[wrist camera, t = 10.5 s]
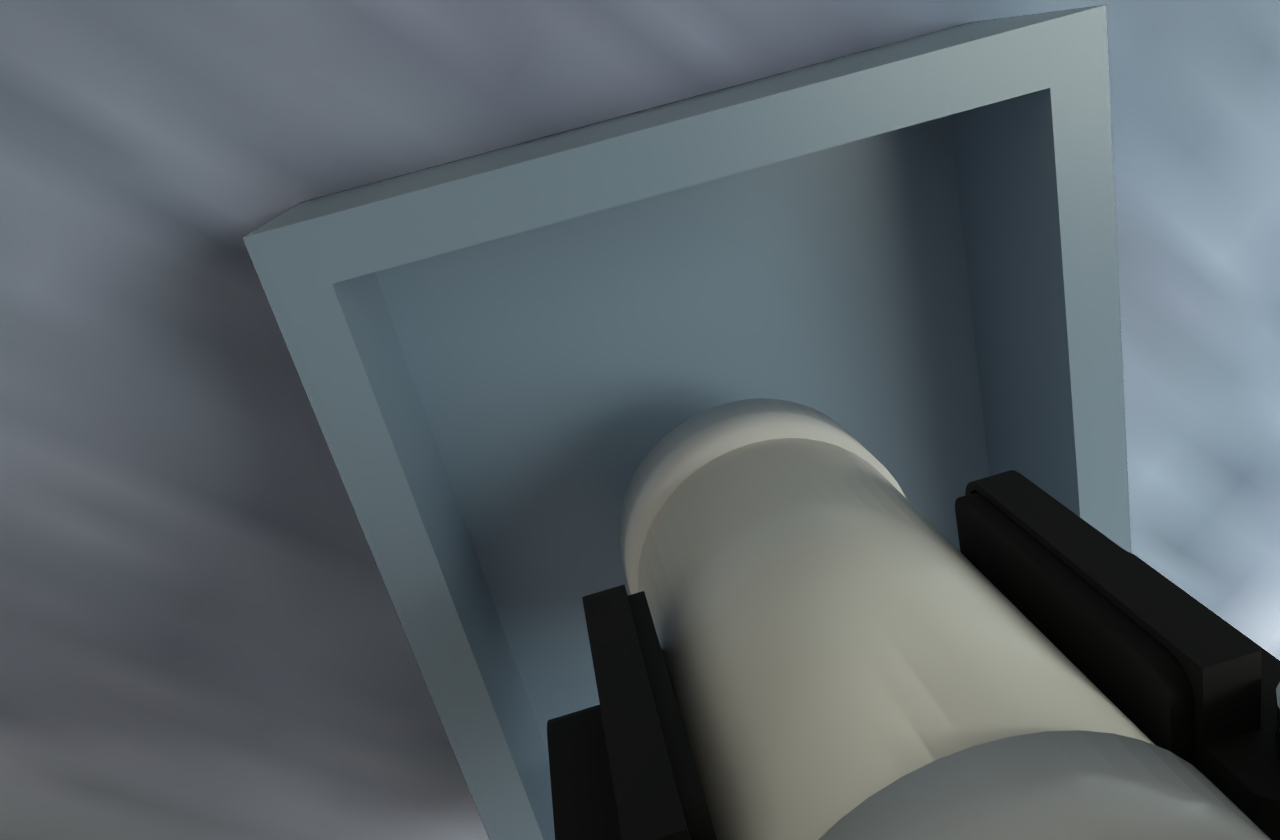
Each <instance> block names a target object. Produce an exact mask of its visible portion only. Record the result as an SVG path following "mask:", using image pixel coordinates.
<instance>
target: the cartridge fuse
mask: <svg viewBox="0 0 1280 840" xmlns="http://www.w3.org/2000/svg"><path fill="white" fill-rule="evenodd" d="M618 542H619V551H620V556H621V560H622V565H623V568H624V572H625V576H626V580H627V583H628V587H629V591H630V594H635V593H638V592H641V591H644V592H645V595H646V599H647V602H648V606H649V609H650V612H651V616H652V619H653V623H654V626H655V629H656V633H657V636H658V640H659V643H660V646H661V650H662V653H663V657H664V660H665V664H666V667H667V670H668V674H669V677H670V681H671V684H672V687H673V691H674V694H675V698H676V701H677V704H678V708H679V711H680V715H681V718H682V721H683V725H684V728H685V732H686V735H687V739H688V742H689V745H690V749H691V752H692V756H693V759H694V762H695V766H696V769H697V773H698V776H699V779H700V783H701V786H702V790H703V793H704V796H705V800H706V803H707V807H708V810H709V814H710V817H711V821H712V824H713V828H714V831H715V834H716V838H717V840H1271V839H1270V838H1269V837H1268V836H1267V835H1266V834H1265V833H1264V832H1263V831H1262V830H1261V829H1260V828H1259V827H1258V826H1257V825H1256V824H1254V823H1253V822H1252V821H1251V820H1250V819H1249V818H1248V817H1247V816H1246V815H1245V814H1244V813H1243V812H1242V811H1241V810H1240V809H1239V808H1238V807H1237V806H1236V805H1235V804H1234V803H1233V802H1232V801H1231V800H1230V799H1229V798H1228V797H1226V796H1225V795H1224V794H1223V793H1222V792H1221V791H1220V790H1219V789H1218V788H1217V787H1216V786H1215V785H1214V784H1213V783H1212V782H1211V781H1210V780H1209V779H1208V778H1206V777H1205V776H1204V775H1203V774H1202V773H1201V772H1200V771H1198V770H1197V769H1196V768H1195V767H1194V766H1193V765H1192V764H1190V763H1188V762H1187V761H1185V760H1183V759H1182V758H1180V757H1178V756H1177V755H1175V754H1173V753H1172V752H1170V751H1168V750H1166V749H1163V748H1161V747H1158V746H1156V745H1155V744H1154V743H1153V742H1152V741H1151V740H1150V739H1149V738H1148V737H1147V736H1146V735H1145V734H1144V733H1143V732H1142V731H1141V730H1140V729H1139V728H1138V727H1137V726H1136V725H1135V724H1134V723H1133V722H1132V721H1131V720H1129V719H1128V718H1127V717H1126V716H1125V715H1124V714H1123V713H1122V712H1121V711H1120V710H1119V709H1118V708H1117V707H1116V706H1115V705H1114V704H1113V703H1112V702H1111V701H1110V700H1109V699H1108V698H1107V697H1106V696H1105V695H1104V694H1103V693H1102V692H1101V691H1100V690H1099V689H1098V688H1097V687H1096V686H1095V685H1094V684H1093V683H1092V682H1091V681H1090V680H1089V679H1088V678H1087V677H1086V676H1085V675H1084V674H1083V673H1082V672H1081V671H1080V670H1079V669H1078V668H1077V667H1076V666H1075V665H1074V664H1073V663H1072V662H1071V661H1070V660H1069V659H1068V658H1067V657H1066V656H1065V655H1064V654H1063V653H1062V652H1061V651H1060V650H1059V649H1058V648H1057V647H1056V646H1055V645H1054V644H1053V643H1052V642H1051V641H1050V640H1049V639H1048V638H1047V637H1046V636H1045V635H1044V634H1043V633H1042V632H1041V631H1040V630H1039V629H1038V628H1037V627H1036V626H1035V625H1034V624H1033V623H1031V622H1030V621H1029V620H1028V619H1027V618H1026V617H1025V616H1024V615H1023V614H1022V613H1021V612H1020V611H1019V610H1018V609H1017V608H1016V607H1015V606H1014V605H1013V604H1012V603H1011V602H1010V601H1009V600H1008V599H1007V598H1006V597H1005V596H1004V595H1003V594H1002V593H1001V592H1000V591H999V590H998V589H997V588H996V587H995V586H994V585H993V584H992V583H991V582H990V581H989V580H988V579H987V578H986V577H985V576H984V575H983V574H982V573H981V572H980V571H979V570H978V569H977V568H976V567H975V566H974V565H973V564H972V563H971V562H970V561H969V560H968V559H967V558H966V557H965V556H964V555H963V554H962V553H961V552H960V551H959V550H958V549H957V548H956V547H955V546H954V545H953V544H952V543H951V542H950V541H949V540H948V539H947V538H946V537H945V536H944V535H943V534H942V533H941V532H940V531H939V530H938V529H937V528H936V527H935V526H934V525H932V524H931V523H930V522H929V521H928V520H927V519H926V518H925V517H924V516H923V515H922V514H921V513H920V512H919V511H918V510H917V509H916V508H915V507H914V506H913V505H912V504H911V503H910V502H909V501H908V500H907V499H906V497H905V495H904V493H903V491H902V490H901V488H900V486H899V484H898V483H897V481H896V480H895V479H894V477H893V476H892V475H891V474H890V473H889V471H888V470H887V469H886V468H885V467H884V466H883V465H882V464H881V463H880V462H879V461H878V460H877V459H876V458H875V457H874V456H873V455H872V454H871V453H870V452H869V451H868V450H866V449H865V448H864V447H863V446H862V445H861V444H860V443H859V442H858V441H857V440H856V439H855V438H854V437H853V436H852V435H851V434H850V433H849V432H848V431H847V430H845V429H844V428H843V427H842V426H841V425H840V424H839V423H838V422H836V421H835V420H833V419H832V418H830V417H829V416H827V415H826V414H824V413H822V412H820V411H817V410H815V409H813V408H811V407H809V406H805V405H802V404H799V403H796V402H792V401H786V400H780V399H763V398H757V399H747V400H739V401H734V402H730V403H725V404H722V405H719V406H716V407H713V408H710V409H708V410H705V411H703V412H701V413H699V414H697V415H695V416H693V417H691V418H689V419H688V420H686V421H684V422H683V423H681V424H680V425H678V426H677V427H675V428H674V429H673V430H671V431H670V432H669V433H668V434H667V435H666V436H664V437H663V438H662V439H661V440H660V441H659V442H658V443H657V444H656V445H655V446H654V447H653V448H652V449H651V450H650V452H649V453H648V454H647V455H646V457H645V458H644V459H643V461H642V462H641V464H640V465H639V466H638V468H637V469H636V471H635V473H634V475H633V477H632V479H631V481H630V483H629V485H628V487H627V490H626V493H625V495H624V498H623V501H622V506H621V510H620V515H619V524H618Z"/></svg>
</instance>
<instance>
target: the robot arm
mask: <svg viewBox="0 0 1280 840" xmlns="http://www.w3.org/2000/svg"><path fill="white" fill-rule="evenodd" d="M955 514H956V522H957V529H958V537H959V545H960V552H961V553H962V554H963V555H964V556H965V557H966V558H967V559H968V560H969V561H970V562H971V563H972V564H973V565H974V566H975V567H976V568H977V569H978V570H979V571H980V572H981V573H982V574H983V575H984V576H985V577H986V578H987V579H988V580H989V581H990V582H991V583H992V584H993V585H994V586H995V587H996V588H997V589H998V590H999V591H1000V592H1001V593H1002V594H1003V595H1004V596H1005V597H1006V598H1007V599H1008V600H1009V601H1010V602H1011V603H1012V604H1013V605H1014V606H1015V607H1016V608H1017V609H1018V610H1019V611H1020V612H1021V613H1022V614H1023V615H1024V616H1025V617H1026V618H1027V619H1028V620H1029V621H1030V622H1031V623H1033V624H1034V625H1035V626H1036V627H1037V628H1038V629H1039V630H1040V631H1041V632H1042V633H1043V634H1044V635H1045V636H1046V637H1047V638H1048V639H1049V640H1050V641H1051V642H1052V643H1053V644H1054V645H1055V646H1056V647H1057V648H1058V649H1059V650H1060V651H1061V652H1062V653H1063V654H1064V655H1065V656H1066V657H1067V658H1068V659H1069V660H1070V661H1071V662H1072V663H1073V664H1074V665H1075V666H1076V667H1077V668H1078V669H1079V670H1080V671H1081V672H1082V673H1083V674H1084V675H1085V676H1086V677H1087V678H1088V679H1089V680H1090V681H1091V682H1092V683H1093V684H1094V685H1095V686H1096V687H1097V688H1098V689H1099V690H1100V691H1101V692H1102V693H1103V694H1104V695H1105V696H1106V697H1107V698H1108V699H1109V700H1110V701H1111V702H1112V703H1113V704H1114V705H1115V706H1116V707H1117V708H1118V709H1119V710H1120V711H1121V712H1122V713H1123V714H1124V715H1125V716H1126V717H1127V718H1128V719H1129V720H1131V721H1132V722H1133V723H1134V724H1135V725H1136V726H1137V727H1138V728H1139V729H1140V730H1141V731H1142V732H1143V733H1144V734H1145V735H1146V736H1147V737H1148V738H1149V739H1150V740H1151V741H1152V742H1153V743H1154V744H1155V745H1156V746H1158V747H1161V748H1163V749H1166V750H1168V751H1170V752H1172V753H1173V754H1175V755H1177V756H1178V757H1180V758H1182V759H1183V760H1185V761H1187V762H1188V763H1190V764H1192V765H1193V766H1194V767H1195V768H1196V769H1197V770H1198V771H1200V772H1201V773H1202V774H1203V775H1204V776H1205V777H1206V778H1208V779H1209V780H1210V781H1211V782H1212V783H1213V784H1214V785H1215V786H1216V787H1217V788H1218V789H1219V790H1220V791H1221V792H1222V793H1223V794H1224V795H1225V796H1226V797H1228V798H1229V799H1230V800H1231V801H1232V802H1233V803H1234V804H1235V805H1236V806H1237V807H1238V808H1239V809H1240V810H1241V811H1242V812H1243V813H1244V814H1245V815H1246V816H1247V817H1248V818H1249V819H1250V820H1251V821H1252V822H1253V823H1254V824H1256V825H1257V826H1258V827H1259V828H1260V829H1261V830H1262V831H1263V832H1264V833H1265V834H1266V835H1267V836H1268V837H1269V838H1270V839H1271V840H1280V661H1279V660H1278V659H1276V658H1275V657H1274V656H1272V655H1271V654H1270V653H1268V652H1267V651H1265V650H1264V649H1263V648H1261V647H1260V646H1259V645H1257V644H1256V643H1254V642H1253V641H1252V640H1250V639H1249V638H1248V637H1246V636H1245V635H1243V634H1242V633H1241V632H1239V631H1238V630H1237V629H1235V628H1234V627H1233V626H1231V625H1230V624H1228V623H1227V622H1226V621H1224V620H1223V619H1222V618H1220V617H1219V616H1217V615H1216V614H1215V613H1213V612H1212V611H1211V610H1209V609H1208V608H1206V607H1205V606H1204V605H1202V604H1201V603H1200V602H1198V601H1197V600H1196V599H1194V598H1193V597H1191V596H1190V595H1189V594H1187V593H1186V592H1185V591H1183V590H1182V589H1180V588H1179V587H1178V586H1176V585H1175V584H1174V583H1172V582H1171V581H1169V580H1168V579H1167V578H1165V577H1164V576H1163V575H1161V574H1160V573H1159V572H1157V571H1156V570H1154V569H1153V568H1152V567H1150V566H1149V565H1148V564H1146V563H1145V562H1143V561H1142V560H1141V559H1139V558H1138V557H1137V556H1135V555H1134V554H1132V553H1130V552H1128V551H1126V550H1124V549H1123V548H1121V547H1120V546H1118V545H1117V544H1116V543H1114V542H1113V541H1112V540H1110V539H1109V538H1108V537H1106V536H1105V535H1103V534H1102V533H1101V532H1099V531H1098V530H1097V529H1095V528H1094V527H1093V526H1091V525H1090V524H1088V523H1087V522H1086V521H1084V520H1083V519H1082V518H1080V517H1079V516H1078V515H1076V514H1075V513H1073V512H1072V511H1071V510H1069V509H1068V508H1067V507H1065V506H1064V505H1063V504H1061V503H1060V502H1058V501H1057V500H1056V499H1054V498H1053V497H1052V496H1050V495H1049V494H1048V493H1046V492H1045V491H1043V490H1042V489H1041V488H1039V487H1038V486H1037V485H1035V484H1034V483H1033V482H1031V481H1030V480H1028V479H1027V478H1026V477H1024V476H1023V475H1022V474H1020V473H1019V472H1017V471H1015V470H1009V471H1006V472H1002V473H999V474H996V475H992V476H989V477H985V478H982V479H979V480H975V481H972V482H969V483H968V485H967V486H966V491H965V496H962V497H958V498H957V499H956V501H955ZM582 600H583V606H584V612H585V618H586V624H587V630H588V636H589V642H590V648H591V654H592V660H593V666H594V672H595V678H596V684H597V690H598V696H599V702H600V705H596V706H593V707H590V708H586V709H583V710H580V711H577V712H573V713H570V714H567V715H563V716H560V717H557V718H553V719H550V720H548V722H547V741H548V754H549V767H550V780H551V793H552V806H553V819H554V832H555V840H717V838H716V834H715V831H714V828H713V824H712V821H711V817H710V814H709V810H708V807H707V803H706V800H705V796H704V793H703V790H702V786H701V783H700V779H699V776H698V773H697V769H696V766H695V762H694V759H693V756H692V752H691V749H690V745H689V742H688V739H687V735H686V732H685V728H684V725H683V721H682V718H681V715H680V711H679V708H678V704H677V701H676V698H675V694H674V691H673V687H672V684H671V681H670V677H669V674H668V670H667V667H666V664H665V660H664V657H663V653H662V650H661V646H660V643H659V640H658V636H657V633H656V629H655V626H654V623H653V619H652V616H651V612H650V609H649V606H648V602H647V599H646V595H645V592H644V591H641V592H638V593H635V594H631V595H628V594H627V591H626V588H625V585H620V586H617V587H614V588H610V589H607V590H603V591H600V592H597V593H593V594H590V595H587V596H583V597H582Z"/></svg>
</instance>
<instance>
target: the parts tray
mask: <svg viewBox="0 0 1280 840" xmlns="http://www.w3.org/2000/svg"><path fill="white" fill-rule="evenodd" d="M243 241H244V243H245V246H246V248H247V250H248V253H249V255H250V258H251V260H252V263H253V265H254V268H255V270H256V272H257V275H258V277H259V280H260V282H261V285H262V287H263V289H264V292H265V294H266V297H267V299H268V302H269V304H270V306H271V309H272V311H273V314H274V316H275V319H276V321H277V323H278V326H279V328H280V331H281V333H282V336H283V338H284V341H285V343H286V345H287V348H288V350H289V353H290V355H291V358H292V360H293V362H294V365H295V367H296V370H297V372H298V375H299V377H300V379H301V382H302V384H303V387H304V389H305V392H306V394H307V396H308V399H309V401H310V404H311V406H312V409H313V411H314V414H315V416H316V418H317V421H318V423H319V426H320V428H321V431H322V433H323V435H324V438H325V440H326V443H327V445H328V448H329V450H330V452H331V455H332V457H333V460H334V462H335V465H336V467H337V469H338V472H339V474H340V477H341V479H342V482H343V484H344V487H345V489H346V491H347V494H348V496H349V499H350V501H351V504H352V506H353V508H354V511H355V513H356V516H357V518H358V521H359V523H360V525H361V528H362V530H363V533H364V535H365V538H366V540H367V542H368V545H369V547H370V550H371V552H372V555H373V557H374V560H375V562H376V564H377V567H378V569H379V572H380V574H381V577H382V579H383V581H384V584H385V586H386V589H387V591H388V594H389V596H390V598H391V601H392V603H393V606H394V608H395V611H396V613H397V615H398V618H399V620H400V623H401V625H402V628H403V630H404V632H405V635H406V637H407V640H408V642H409V645H410V647H411V650H412V652H413V654H414V657H415V659H416V662H417V664H418V667H419V669H420V671H421V674H422V676H423V679H424V681H425V684H426V686H427V688H428V691H429V693H430V696H431V698H432V701H433V703H434V705H435V708H436V710H437V713H438V715H439V718H440V720H441V723H442V725H443V727H444V730H445V732H446V735H447V737H448V740H449V742H450V744H451V747H452V749H453V752H454V754H455V757H456V759H457V761H458V764H459V766H460V769H461V771H462V774H463V776H464V778H465V781H466V783H467V786H468V788H469V791H470V793H471V796H472V798H473V800H474V803H475V805H476V808H477V810H478V813H479V815H480V817H481V820H482V822H483V825H484V827H485V830H486V832H487V834H488V837H489V839H490V840H555V832H554V819H553V806H552V793H551V780H550V767H549V754H548V741H547V722H548V720H550V719H553V718H557V717H560V716H563V715H567V714H570V713H573V712H577V711H580V710H583V709H586V708H590V707H593V706H596V705H600V702H599V696H598V690H597V684H596V678H595V672H594V666H593V660H592V654H591V648H590V642H589V636H588V630H587V624H586V618H585V612H584V606H583V600H582V597H583V596H587V595H590V594H593V593H597V592H600V591H603V590H607V589H610V588H614V587H617V586H620V585H625V588H626V591H627V594H628V595H631V594H630V591H629V587H628V583H627V580H626V576H625V572H624V568H623V565H622V560H621V556H620V551H619V542H618V524H619V515H620V510H621V506H622V501H623V498H624V495H625V493H626V490H627V487H628V485H629V483H630V481H631V479H632V477H633V475H634V473H635V471H636V469H637V468H638V466H639V465H640V464H641V462H642V461H643V459H644V458H645V457H646V455H647V454H648V453H649V452H650V450H651V449H652V448H653V447H654V446H655V445H656V444H657V443H658V442H659V441H660V440H661V439H662V438H663V437H664V436H666V435H667V434H668V433H669V432H670V431H671V430H673V429H674V428H675V427H677V426H678V425H680V424H681V423H683V422H684V421H686V420H688V419H689V418H691V417H693V416H695V415H697V414H699V413H701V412H703V411H705V410H708V409H710V408H713V407H716V406H719V405H722V404H725V403H730V402H734V401H739V400H747V399H757V398H763V399H780V400H786V401H792V402H796V403H799V404H802V405H805V406H809V407H811V408H813V409H815V410H817V411H820V412H822V413H824V414H826V415H827V416H829V417H830V418H832V419H833V420H835V421H836V422H838V423H839V424H840V425H841V426H842V427H843V428H844V429H845V430H847V431H848V432H849V433H850V434H851V435H852V436H853V437H854V438H855V439H856V440H857V441H858V442H859V443H860V444H861V445H862V446H863V447H864V448H865V449H866V450H868V451H869V452H870V453H871V454H872V455H873V456H874V457H875V458H876V459H877V460H878V461H879V462H880V463H881V464H882V465H883V466H884V467H885V468H886V469H887V470H888V471H889V473H890V474H891V475H892V476H893V477H894V479H895V480H896V481H897V483H898V484H899V486H900V488H901V490H902V491H903V493H904V495H905V497H906V499H907V500H908V501H909V502H910V503H911V504H912V505H913V506H914V507H915V508H916V509H917V510H918V511H919V512H920V513H921V514H922V515H923V516H924V517H925V518H926V519H927V520H928V521H929V522H930V523H931V524H932V525H934V526H935V527H936V528H937V529H938V530H939V531H940V532H941V533H942V534H943V535H944V536H945V537H946V538H947V539H948V540H949V541H950V542H951V543H952V544H953V545H954V546H955V547H956V548H957V549H958V550H959V551H960V545H959V537H958V529H957V522H956V514H955V501H956V499H957V498H958V497H962V496H965V491H966V486H967V485H968V483H969V482H972V481H975V480H979V479H982V478H985V477H989V476H992V475H996V474H999V473H1002V472H1006V471H1009V470H1015V471H1017V472H1019V473H1020V474H1022V475H1023V476H1024V477H1026V478H1027V479H1028V480H1030V481H1031V482H1033V483H1034V484H1035V485H1037V486H1038V487H1039V488H1041V489H1042V490H1043V491H1045V492H1046V493H1048V494H1049V495H1050V496H1052V497H1053V498H1054V499H1056V500H1057V501H1058V502H1060V503H1061V504H1063V505H1064V506H1065V507H1067V508H1068V509H1069V510H1071V511H1072V512H1073V513H1075V514H1076V515H1078V516H1079V517H1080V518H1082V519H1083V520H1084V521H1086V522H1087V523H1088V524H1090V525H1091V526H1093V527H1094V528H1095V529H1097V530H1098V531H1099V532H1101V533H1102V534H1103V535H1105V536H1106V537H1108V538H1109V539H1110V540H1112V541H1113V542H1114V543H1116V544H1117V545H1118V546H1120V547H1121V548H1123V549H1124V550H1126V551H1128V552H1130V553H1131V536H1130V515H1129V493H1128V471H1127V450H1126V428H1125V407H1124V385H1123V364H1122V342H1121V321H1120V299H1119V277H1118V256H1117V234H1116V213H1115V191H1114V170H1113V148H1112V127H1111V105H1110V83H1109V62H1108V40H1107V19H1106V5H1102V6H1094V7H1086V8H1078V9H1070V10H1063V11H1055V12H1047V13H1039V14H1032V15H1024V16H1016V17H1008V18H1000V19H993V20H985V21H977V22H970V23H967V24H963V25H959V26H956V27H952V28H948V29H944V30H941V31H937V32H933V33H929V34H926V35H922V36H918V37H915V38H911V39H907V40H903V41H900V42H896V43H892V44H889V45H885V46H881V47H877V48H874V49H870V50H866V51H863V52H859V53H855V54H851V55H848V56H844V57H840V58H836V59H833V60H829V61H825V62H822V63H818V64H814V65H810V66H807V67H803V68H799V69H796V70H792V71H788V72H784V73H781V74H777V75H773V76H769V77H766V78H762V79H758V80H755V81H751V82H747V83H743V84H740V85H736V86H732V87H729V88H725V89H721V90H717V91H714V92H710V93H706V94H702V95H699V96H695V97H691V98H688V99H684V100H680V101H676V102H673V103H669V104H665V105H662V106H658V107H654V108H650V109H647V110H643V111H639V112H635V113H632V114H628V115H624V116H621V117H617V118H613V119H609V120H606V121H602V122H598V123H595V124H591V125H587V126H583V127H580V128H576V129H572V130H568V131H565V132H561V133H557V134H554V135H550V136H546V137H542V138H539V139H535V140H531V141H528V142H524V143H520V144H516V145H513V146H509V147H505V148H501V149H498V150H494V151H490V152H487V153H483V154H479V155H475V156H472V157H468V158H464V159H461V160H457V161H453V162H449V163H446V164H442V165H438V166H434V167H431V168H427V169H423V170H420V171H416V172H412V173H408V174H405V175H401V176H397V177H394V178H390V179H386V180H382V181H379V182H375V183H371V184H367V185H364V186H360V187H356V188H353V189H349V190H345V191H341V192H338V193H334V194H330V195H327V196H323V197H319V198H315V199H312V200H308V201H304V202H301V203H300V204H298V205H296V206H295V207H293V208H291V209H290V210H288V211H286V212H285V213H283V214H281V215H280V216H278V217H276V218H275V219H273V220H271V221H270V222H268V223H266V224H265V225H263V226H261V227H260V228H258V229H256V230H255V231H253V232H251V233H250V234H248V235H246V236H245V237H243Z"/></svg>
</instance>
